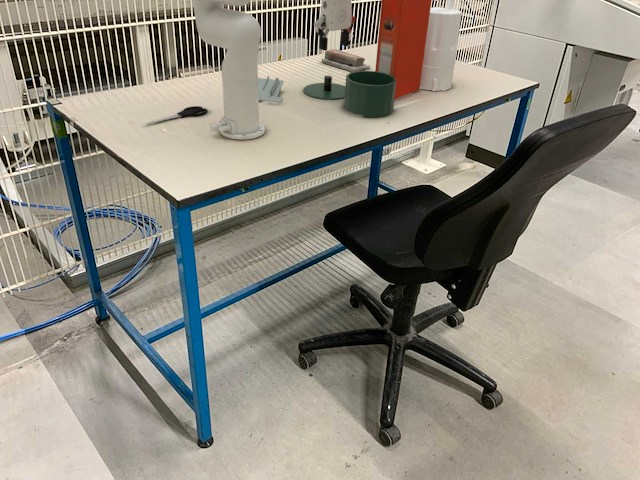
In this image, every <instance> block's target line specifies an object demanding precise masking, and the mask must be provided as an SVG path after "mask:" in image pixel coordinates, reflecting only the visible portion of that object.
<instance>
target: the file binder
mask: <svg viewBox="0 0 640 480" xmlns="http://www.w3.org/2000/svg"><path fill="white" fill-rule="evenodd" d="M432 1H433V0H381V3H380V4H381V6H380V15H379V17H380V18H379V28H378V38H377V48H376V49H377V50H376V60H375V69H374V71H377V72H383V73H386V74H389V75H392V76H393V77H395V78H396V81H397V82H396V90H395V98H394V100H396V99H398V98H401V97H404V96H406V95H409V94H414V93H416V92H418V91H420V81H421V73H422V66H423V59H424V52H425V45H426V37H427V30H428V23H429V16H430V9H431V8H432Z"/></svg>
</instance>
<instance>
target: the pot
mask: <svg viewBox="0 0 640 480" xmlns="http://www.w3.org/2000/svg"><path fill="white" fill-rule="evenodd" d="M396 82H397V81H396V78H395V77H393V76H392V75H389V74H386V73H383V72H377V71H375V70H359V71H356V72H349V73H347V74H346V75H345V84H344V86H345V98H344V99H343V108H344V109H345V110H346V111H347V112H348V113H351V114H354V115H357V116H361V118H369V119H377V118H378V119H379V118H385V117H388V116H390V115H391V114H392V113H393V111H394V106H395V105H394V104H395V99H394V98H395V90H396Z"/></svg>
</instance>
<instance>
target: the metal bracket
mask: <svg viewBox="0 0 640 480" xmlns="http://www.w3.org/2000/svg"><path fill="white" fill-rule="evenodd" d="M284 82H285V81H284V80H282V79H280V78H279V77H275V79H273V78H272V79H271V78H270V75H267V77H266V78H262V77H258V98H259V102H272V103H282V100H284V99H283V96H279V94H280V91H281V89H282V87H283V85H284Z"/></svg>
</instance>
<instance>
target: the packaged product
mask: <svg viewBox="0 0 640 480" xmlns="http://www.w3.org/2000/svg"><path fill="white" fill-rule="evenodd" d="M365 61H366V58H364V57H362V56H359V55H356V54H352V53H350V52H346V51H343V50H340V49H336V48H332V49H329V50H328V49H327V50H326V51H324V58H321V63H322V64H326V65H329V66H331V67H333V68H337V69H342V70H345V71H349V72H350V73H352V72H356V71H364V70H366V69H367V70H368V69H370V68H371V65H370V64H366V63H365Z"/></svg>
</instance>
